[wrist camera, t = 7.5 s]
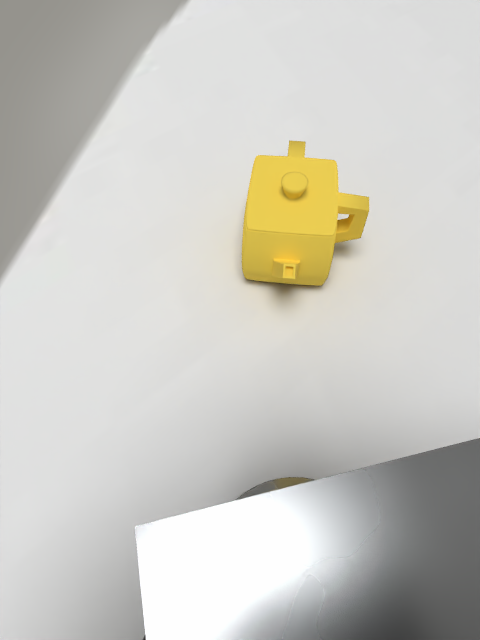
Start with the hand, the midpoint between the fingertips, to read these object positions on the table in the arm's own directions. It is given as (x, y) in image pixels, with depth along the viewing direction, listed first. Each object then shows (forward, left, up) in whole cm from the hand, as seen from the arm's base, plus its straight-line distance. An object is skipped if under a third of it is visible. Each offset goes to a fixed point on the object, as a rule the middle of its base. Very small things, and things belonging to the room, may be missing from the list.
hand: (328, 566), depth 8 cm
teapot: (+11, -9, -10) cm, 17 cm away
